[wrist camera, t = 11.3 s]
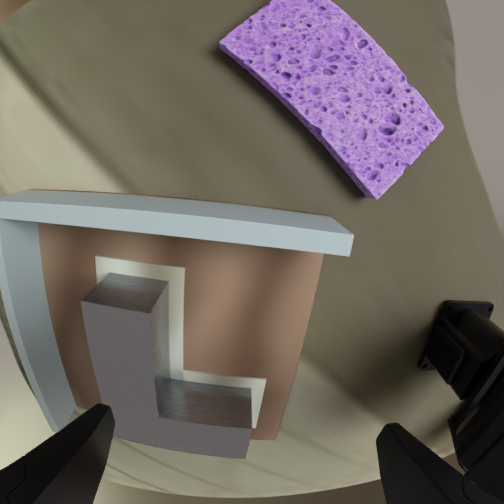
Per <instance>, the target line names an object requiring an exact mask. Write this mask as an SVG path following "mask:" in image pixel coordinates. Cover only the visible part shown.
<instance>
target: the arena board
mask: <svg viewBox="0 0 504 504" xmlns="http://www.w3.org/2000/svg"><path fill="white" fill-rule="evenodd" d="M30 190H36V189H30ZM39 191H68V190H39ZM68 192H89V193H107V194H123V195H137V196H150V197H163V198H174V199H185V200H196V201H206V202H216V203H225V204H234V205H243V206H252V207H260V208H268V209H276V210H284V211H291V212H299V213H306V214H313V215H320V216H327V217H330V216H328V215H321V214H314V213H307V212H300V211H292V210H285V209H277V208H269V207H261V206H253V205H244V204H236V203H227V202H217V201H208V200H197V199H187V198H176V197H164V196H152V195H138V194H124V193H108V192H90V191H68ZM38 232H39V244H40V254H41V263H42V271H43V278H44V284H45V291H46V296H47V302H48V307H49V312H50V317H51V321H52V326H53V330H54V334H55V338H56V342H57V346H58V350H59V354H60V357H61V361H62V364H63V367H64V371H65V374H66V377H67V380H68V383H69V386H70V389H71V392H72V395H73V397H74V400H75V403H76V405H77V406H78V407H81V408H84V409H88V410H89V409H90V408H92V407H93V406H94V405H96V404H97V403H102V400H101V396H100V393H99V389H98V385H97V381H96V378H95V374H94V369H93V365H92V361H91V356H90V352H89V347H88V342H87V337H86V331H85V326H84V320H83V314H82V307H81V300H82V299H83V298H84V297H85V296H86V295H87V294H88V293H89V292H90V291H91V290H92V289H93V288H94V287H95V286H96V285H97V284H98V283H99V282H100V281H101V280H102V279H103V278H104V277H106V276H107V275H108V274H109V273H110V272H111V273H117V274H124V275H130V276H137V277H144V278H151V279H158V280H166V281H169V354H170V378H172V379H178V380H184V381H191V382H198V383H206V384H214V385H223V386H232V387H243V388H251V393H252V432H251V436H250V439H255V440H275V438H276V435H277V432H278V429H279V426H280V423H281V419H282V416H283V413H284V410H285V406H286V403H287V400H288V396H289V393H290V390H291V386H292V383H293V379H294V376H295V372H296V369H297V365H298V361H299V357H300V354H301V350H302V346H303V342H304V338H305V334H306V330H307V326H308V322H309V318H310V314H311V310H312V306H313V301H314V297H315V293H316V288H317V284H318V279H319V274H320V270H321V265H322V260H323V255H324V253H317V252H308V251H300V250H291V249H282V248H274V247H265V246H256V245H248V244H239V243H230V242H221V241H212V240H203V239H194V238H185V237H176V236H167V235H157V234H148V233H139V232H130V231H120V230H111V229H101V228H91V227H82V226H72V225H62V224H52V223H42V222H38ZM102 404H103V403H102Z"/></svg>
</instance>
